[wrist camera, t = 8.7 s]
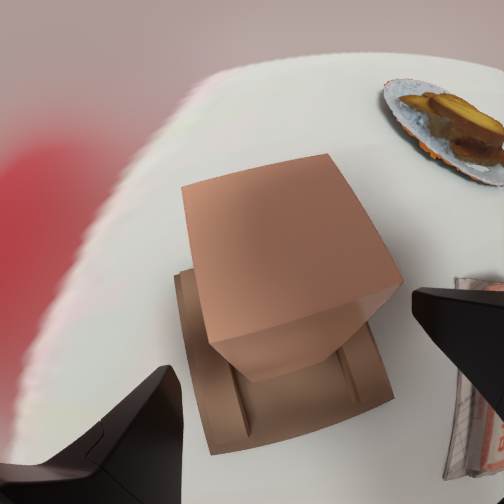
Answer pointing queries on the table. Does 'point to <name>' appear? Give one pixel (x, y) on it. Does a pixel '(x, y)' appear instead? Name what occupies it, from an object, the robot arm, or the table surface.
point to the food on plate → (449, 128)
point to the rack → (275, 386)
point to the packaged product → (475, 421)
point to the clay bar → (284, 264)
